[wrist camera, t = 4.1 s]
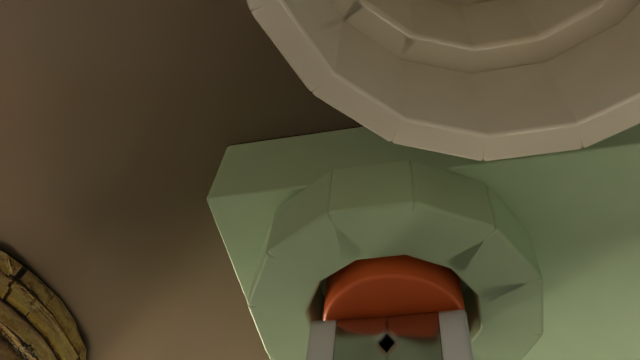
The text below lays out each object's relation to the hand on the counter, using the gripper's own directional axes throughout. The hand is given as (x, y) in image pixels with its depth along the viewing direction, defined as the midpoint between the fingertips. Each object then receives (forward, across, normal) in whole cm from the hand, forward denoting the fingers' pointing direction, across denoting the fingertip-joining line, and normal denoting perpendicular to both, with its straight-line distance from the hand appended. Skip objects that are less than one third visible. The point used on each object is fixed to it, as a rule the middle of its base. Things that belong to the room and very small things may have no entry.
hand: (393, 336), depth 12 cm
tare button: (+1, 0, 0) cm, 1 cm away
